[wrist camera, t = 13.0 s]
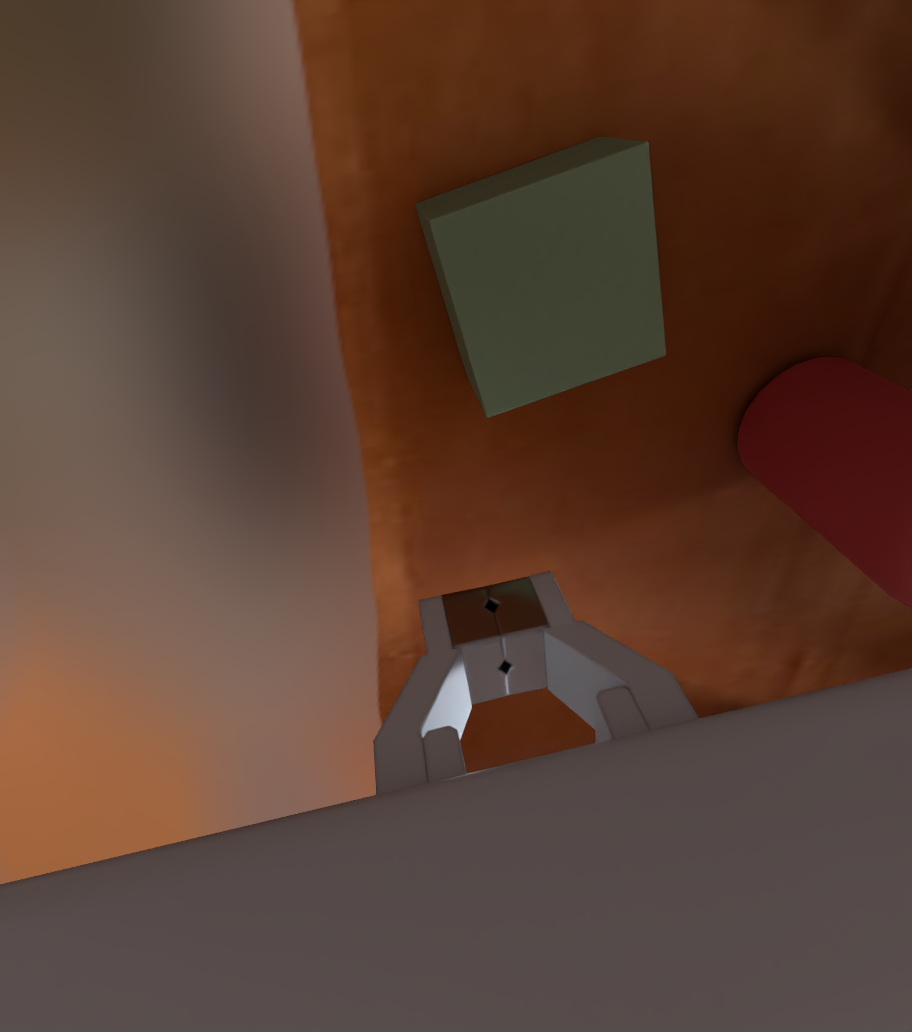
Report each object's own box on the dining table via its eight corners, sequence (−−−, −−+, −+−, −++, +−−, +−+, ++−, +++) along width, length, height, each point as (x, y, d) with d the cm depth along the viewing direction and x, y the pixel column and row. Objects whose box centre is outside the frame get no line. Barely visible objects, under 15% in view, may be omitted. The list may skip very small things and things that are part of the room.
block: (624, 323, 25) (667, 355, 22) (467, 379, 25) (486, 418, 22) (600, 136, 21) (648, 141, 18) (414, 203, 21) (428, 220, 18)
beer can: (878, 342, 28) (1173, 470, 18) (837, 465, 31) (1062, 625, 22) (745, 361, 27) (975, 504, 17) (719, 484, 31) (897, 658, 21)
